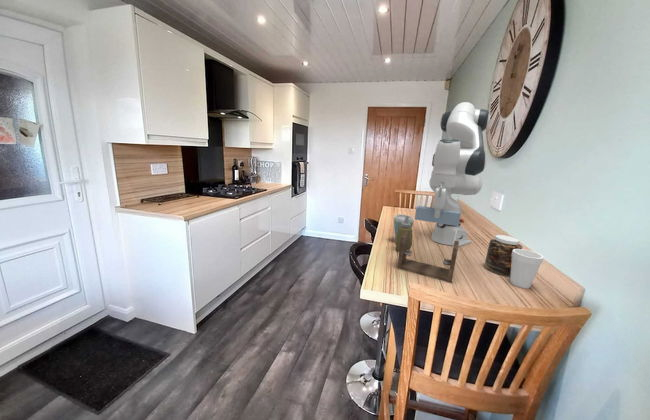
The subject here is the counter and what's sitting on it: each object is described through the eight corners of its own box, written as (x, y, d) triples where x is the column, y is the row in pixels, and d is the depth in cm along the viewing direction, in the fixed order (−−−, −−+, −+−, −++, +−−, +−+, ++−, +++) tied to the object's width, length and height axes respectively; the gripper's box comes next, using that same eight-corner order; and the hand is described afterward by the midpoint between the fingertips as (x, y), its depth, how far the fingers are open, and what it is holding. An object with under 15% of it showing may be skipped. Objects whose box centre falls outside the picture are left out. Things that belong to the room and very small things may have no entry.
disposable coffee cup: (414, 246, 135) (418, 219, 131) (395, 246, 133) (398, 218, 130) (405, 239, 145) (408, 214, 141) (387, 239, 143) (390, 213, 140)
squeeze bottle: (410, 248, 130) (415, 215, 126) (411, 254, 122) (416, 219, 118) (394, 246, 132) (398, 213, 128) (394, 252, 124) (399, 217, 120)
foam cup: (509, 276, 105) (516, 247, 102) (537, 285, 99) (545, 254, 96) (502, 282, 99) (510, 252, 96) (532, 293, 93) (540, 260, 90)
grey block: (458, 223, 99) (460, 211, 98) (458, 226, 95) (460, 213, 94) (416, 217, 106) (417, 205, 105) (414, 219, 102) (416, 207, 101)
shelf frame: (453, 272, 105) (458, 241, 102) (451, 282, 97) (457, 249, 94) (402, 260, 115) (406, 231, 112) (396, 268, 107) (400, 237, 104)
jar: (515, 269, 112) (522, 237, 109) (517, 279, 103) (525, 245, 99) (484, 262, 119) (490, 232, 115) (483, 270, 109) (490, 238, 106)
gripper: (451, 185, 86) (445, 223, 90) (451, 180, 104) (446, 212, 108) (431, 183, 89) (426, 220, 92) (435, 179, 107) (430, 210, 110)
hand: (437, 216), depth 100 cm, fingers closed on grey block, 4 cm apart
